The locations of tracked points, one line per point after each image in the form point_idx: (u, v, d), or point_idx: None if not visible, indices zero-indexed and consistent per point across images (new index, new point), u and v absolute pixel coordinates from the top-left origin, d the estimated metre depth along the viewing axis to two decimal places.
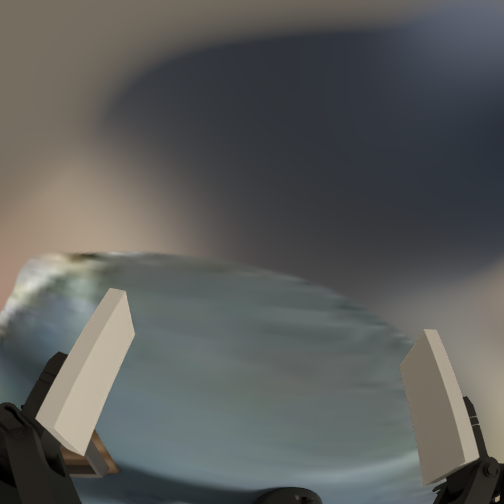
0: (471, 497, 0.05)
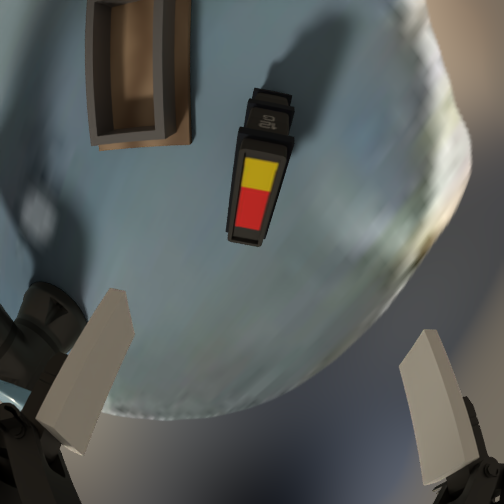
0: (471, 497, 0.05)
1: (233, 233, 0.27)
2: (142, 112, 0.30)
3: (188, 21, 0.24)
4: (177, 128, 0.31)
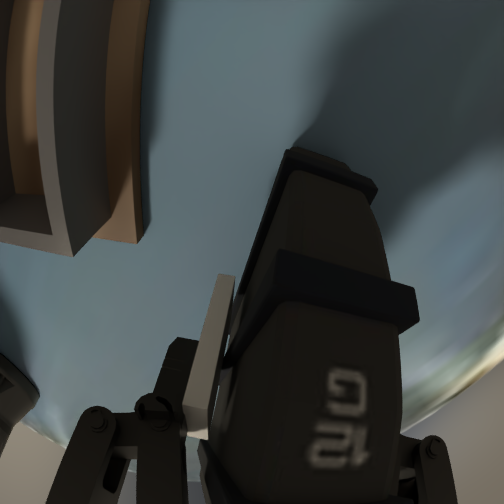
0: None
1: None
2: None
3: None
4: (112, 210, 0.15)
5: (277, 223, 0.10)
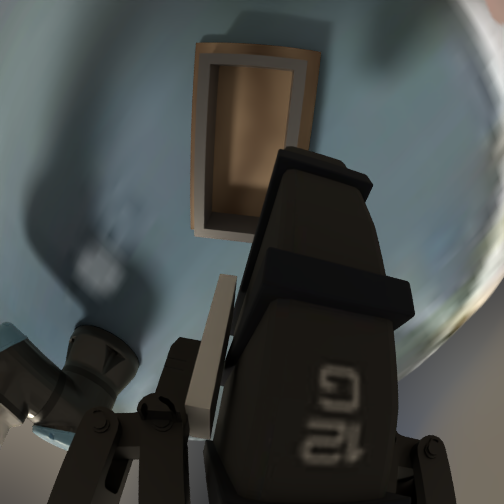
0: None
1: None
2: (248, 201, 0.32)
3: (313, 112, 0.27)
4: None
5: (272, 222, 0.10)
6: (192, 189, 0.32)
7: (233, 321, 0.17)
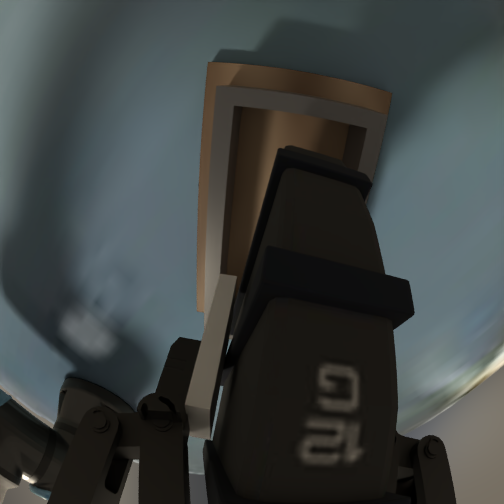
0: None
1: None
2: None
3: None
4: None
5: (271, 221, 0.10)
6: (199, 268, 0.25)
7: (233, 321, 0.17)
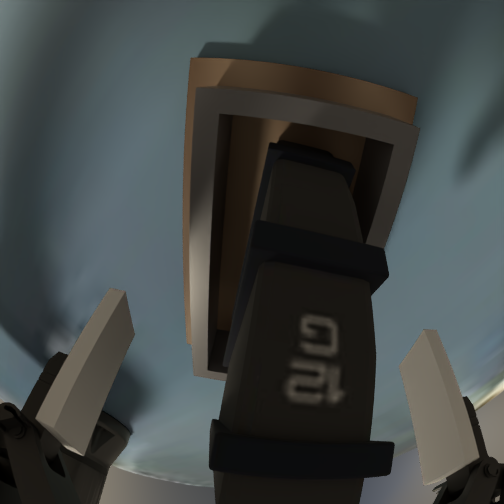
0: (471, 497, 0.05)
1: None
2: None
3: None
4: None
5: (264, 207, 0.12)
6: (187, 300, 0.21)
7: (236, 306, 0.18)
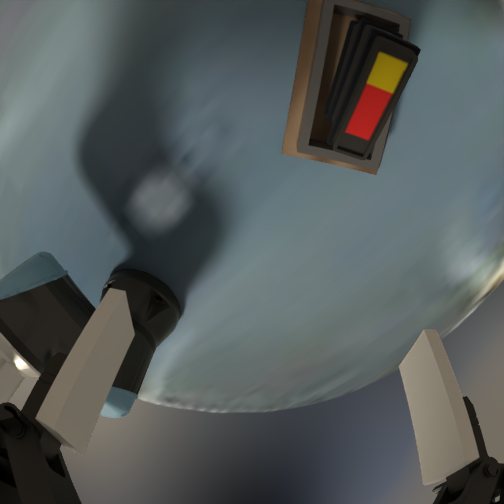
0: (471, 497, 0.05)
1: (339, 142, 0.23)
2: None
3: None
4: None
5: (353, 35, 0.22)
6: (290, 113, 0.31)
7: (329, 101, 0.28)
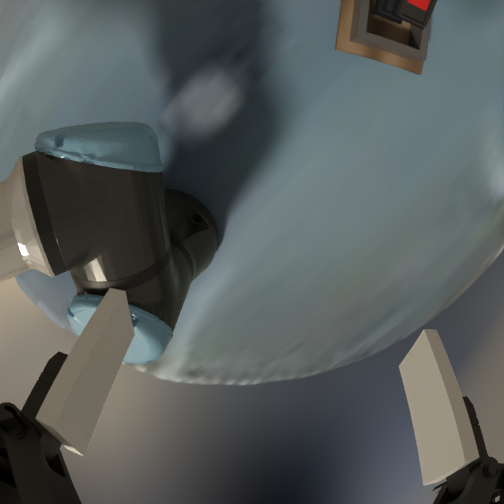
0: (471, 497, 0.05)
1: (403, 10, 0.18)
2: (388, 34, 0.27)
3: None
4: None
5: None
6: (342, 15, 0.27)
7: (377, 3, 0.23)
